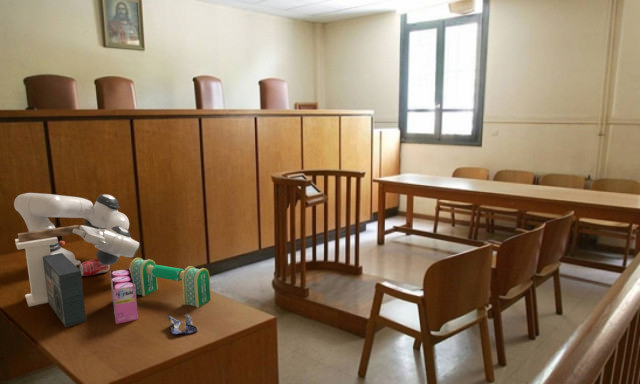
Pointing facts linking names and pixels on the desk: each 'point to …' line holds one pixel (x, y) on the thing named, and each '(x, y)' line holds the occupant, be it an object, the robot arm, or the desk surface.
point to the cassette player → (64, 289)
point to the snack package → (176, 324)
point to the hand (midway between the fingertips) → (71, 229)
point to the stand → (36, 267)
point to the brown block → (46, 233)
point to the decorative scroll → (192, 279)
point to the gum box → (123, 296)
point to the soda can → (93, 267)
